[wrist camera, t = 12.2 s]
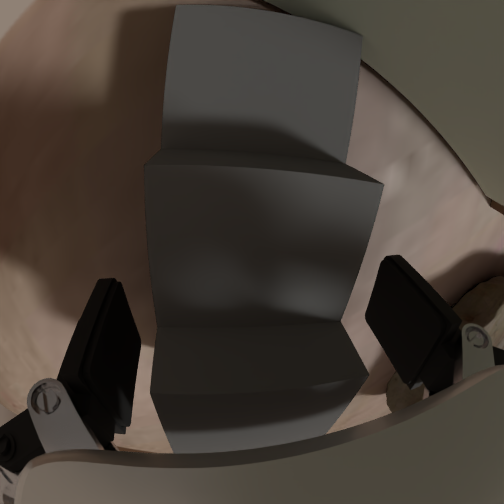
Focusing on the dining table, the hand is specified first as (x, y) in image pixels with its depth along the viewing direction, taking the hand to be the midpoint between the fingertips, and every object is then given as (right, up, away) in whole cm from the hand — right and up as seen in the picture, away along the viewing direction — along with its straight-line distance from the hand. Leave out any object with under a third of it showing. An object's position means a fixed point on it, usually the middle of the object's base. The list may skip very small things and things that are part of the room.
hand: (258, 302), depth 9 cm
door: (+5, +8, -2) cm, 9 cm away
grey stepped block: (-1, +3, +1) cm, 3 cm away
